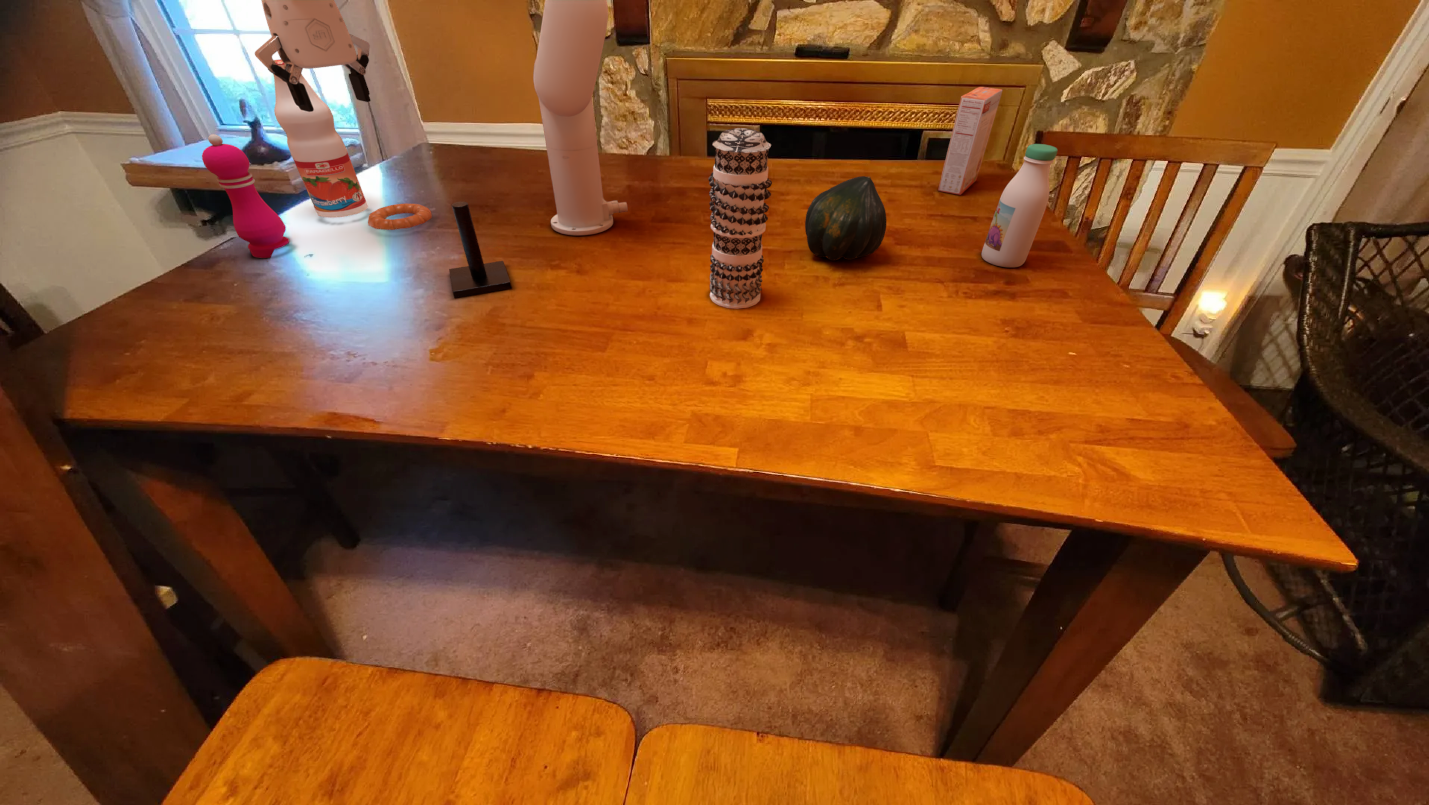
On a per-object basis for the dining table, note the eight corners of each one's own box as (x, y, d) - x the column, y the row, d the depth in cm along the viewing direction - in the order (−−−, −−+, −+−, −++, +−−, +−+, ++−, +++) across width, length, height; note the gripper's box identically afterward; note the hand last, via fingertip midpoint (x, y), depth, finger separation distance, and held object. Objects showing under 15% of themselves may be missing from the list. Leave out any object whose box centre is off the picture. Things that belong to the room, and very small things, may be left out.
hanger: (504, 266, 99) (486, 191, 90) (511, 288, 92) (493, 209, 84) (450, 275, 96) (427, 198, 88) (454, 298, 89) (429, 217, 81)
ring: (432, 211, 119) (428, 198, 117) (434, 231, 111) (430, 217, 109) (372, 219, 115) (367, 205, 113) (370, 239, 107) (364, 225, 105)
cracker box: (953, 177, 144) (978, 85, 131) (976, 181, 141) (1005, 88, 128) (935, 191, 135) (960, 94, 122) (960, 196, 132) (988, 97, 119)
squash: (777, 221, 103) (832, 169, 91) (822, 205, 112) (878, 156, 100) (816, 286, 103) (877, 243, 91) (858, 265, 112) (918, 223, 100)
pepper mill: (273, 261, 99) (211, 141, 86) (239, 257, 100) (172, 138, 87) (304, 245, 104) (250, 130, 92) (271, 241, 106) (213, 127, 93)
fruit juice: (371, 205, 121) (315, 56, 104) (369, 220, 114) (308, 63, 97) (322, 210, 118) (256, 58, 101) (317, 226, 112) (245, 65, 94)
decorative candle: (723, 315, 87) (729, 144, 71) (697, 289, 93) (697, 128, 77) (773, 302, 90) (789, 137, 74) (745, 279, 96) (753, 122, 81)
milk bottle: (1024, 255, 106) (1068, 144, 93) (1023, 272, 100) (1069, 155, 88) (981, 248, 108) (1018, 138, 96) (978, 263, 103) (1017, 149, 90)
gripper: (237, -21, 75) (295, 118, 86) (359, -23, 86) (397, 100, 97) (210, -23, 78) (270, 111, 89) (332, -25, 89) (371, 94, 100)
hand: (336, 105), depth 93 cm, fingers open, 9 cm apart
